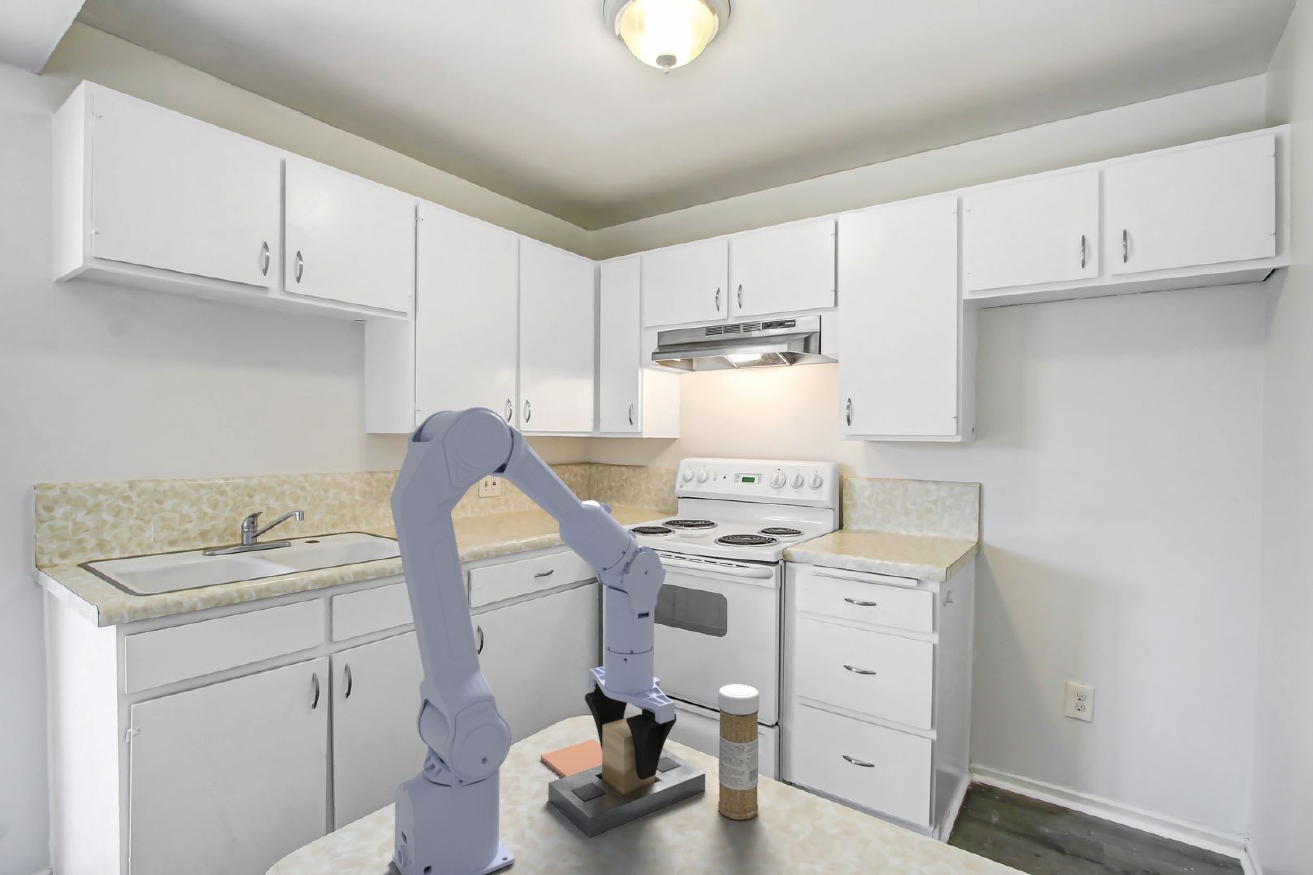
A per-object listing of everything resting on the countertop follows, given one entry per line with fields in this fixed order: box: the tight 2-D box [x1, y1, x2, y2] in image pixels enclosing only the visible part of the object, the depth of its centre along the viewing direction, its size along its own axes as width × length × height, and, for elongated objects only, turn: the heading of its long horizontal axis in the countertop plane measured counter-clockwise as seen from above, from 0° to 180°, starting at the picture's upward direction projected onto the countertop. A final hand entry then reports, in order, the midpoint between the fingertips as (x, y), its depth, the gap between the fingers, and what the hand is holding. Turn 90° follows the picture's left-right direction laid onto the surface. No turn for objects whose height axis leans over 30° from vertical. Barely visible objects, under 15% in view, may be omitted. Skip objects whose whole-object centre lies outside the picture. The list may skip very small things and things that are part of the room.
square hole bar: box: [547, 747, 706, 838], centre depth 77 cm, size 16×9×2 cm, turn 127°
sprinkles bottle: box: [717, 683, 760, 821], centre depth 74 cm, size 5×5×14 cm
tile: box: [540, 739, 602, 778], centre depth 85 cm, size 8×8×1 cm
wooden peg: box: [602, 715, 655, 795], centre depth 77 cm, size 4×4×8 cm
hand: (628, 763), depth 77 cm, fingers open, 7 cm apart
